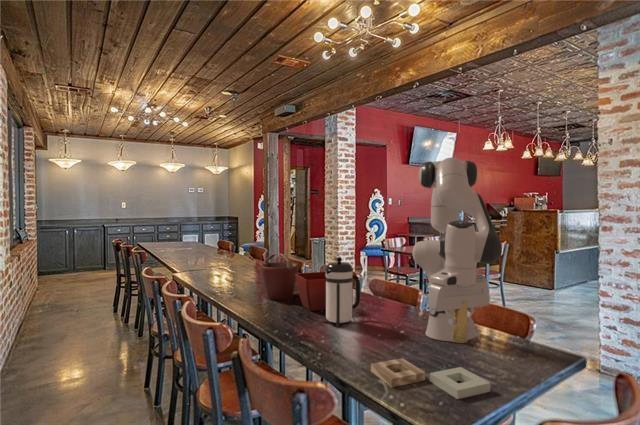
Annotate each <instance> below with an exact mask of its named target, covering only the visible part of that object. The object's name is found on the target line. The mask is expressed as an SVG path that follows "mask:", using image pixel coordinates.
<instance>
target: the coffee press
mask: <svg viewBox="0 0 640 425" xmlns="http://www.w3.org/2000/svg"><path fill="white" fill-rule="evenodd" d="M342 260H343V259H342V257H340V256H338V257H337V258H336V261H334V262H330V263H328V264H327V265H326V266H325V268H324V272H326V277H325V280H326V282H325V310H324V311H325V312H324V313H325V315H324V317H323V318H322V319H323V320H322V322H323V323H326V322H328V321H329V322H331V323H335V324H336V325H335V326H336V328H340V327H341V326H340V324H343V323H349V322H351V323H352V324H354V325H355V324H356V319H355V318H354V317H353V313H354V309H357V308H358V306H359V305H360V302H361V300H360V299H361V283H360V278H359V276H358V275H355V274H353V271H354V268H353V265H351V263H349V262H344V261H342ZM354 281H355V302H354V303H353V282H354ZM325 318H326V320H325ZM324 320H325V321H324ZM352 320H354V321H352Z"/></svg>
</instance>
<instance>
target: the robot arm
mask: <svg viewBox="0 0 640 425" xmlns="http://www.w3.org/2000/svg"><path fill="white" fill-rule="evenodd" d="M478 178H479V170H478V167H477V164H476V163H475V162H474V161H470V160H461V159H459V158H457V157H447V158H444V159H442V160H438V161H431V160H430V161H425V162H423V163H422V164H421V165H420V168H419V170H418V181H419V182H420V185H421V186H422V187H424V188H427V189H431V188H432V194H431V199H430V200H431V202H430V225H431V227H432V229H434V230H436V231H437V232H439V233H440V235H439V237H438V240H433V239H428V240H421V241H416V243H415V244H414V246H413V248H412V253H411V254H412V258H413V260H414V262H415V263H416V264H417V265H418V266H419V267H420V268H421V269H422V270H423V271H424V273H425V276H426V277H427V279H428V287H429V288H428V301H427V302H428V314H429V315H428V319H427V320H428V321H427V326H426V331H425V336H427V337H428V338H430V339H433V340H436V341H445V342H452V343H458V344H459V342H455V341H453V325H454V324H456V323H457V322H456V321H457V319H456V318H454V317H453V313H454V310H455V309H461V307H462V301H467V341H470V340H473V339H476V338H480V337H482V333H481V332H480V331H478V330H476V327H475V326H476V325H475V321H474V320H473V319H472V316H473V314H474V312H475V308H478V307H479V308H481V307H487V306H489V304H490V303H491V302H490V301H491V299H490V289H489V283H488V278H487V277H486V276H485V275H484V274H477V263H479V264H488V265H491V264H494V263H495V262H496V261H498V260H499V259H500V258H501V256H502V251H503V246H502V242H501V238H500V236H499V234H498V232H497V230H495V227H494V224H493V221H492V219H491V217H490V213H489V211H488V209H487V206H486V204H485V202H484V199H483V197H482V196H481V194H479V193H478V192H476V191H475V190H474V189H473V188H472V187H473V186H475V185H476V184H477V183H476V182H477V180H478ZM460 212H463V213H465V214H468V215H470V216H471V217H472V218H473V219H474V222H475V224H476V227H477V230H478V231H476V227H475V225H474V223H472V222H469V221H466V220H460Z"/></svg>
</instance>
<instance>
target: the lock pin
mask: <svg viewBox="0 0 640 425" xmlns="http://www.w3.org/2000/svg"><path fill="white" fill-rule="evenodd" d="M453 317H454V318H456V319H457V321H456V322H457V323H456V324H454V325H453V341H455V342H454V343H457V342H459V343H461V344H462V343H463V344H465V343H467V341H468V340H467V301H462V307H461V309H455V310H454V313H453ZM459 343H458V344H459Z"/></svg>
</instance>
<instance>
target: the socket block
mask: <svg viewBox="0 0 640 425" xmlns="http://www.w3.org/2000/svg"><path fill="white" fill-rule="evenodd" d="M429 382H430V383H431V384H433V385H435V386H436V387H438V388H439V389H441V390H442V391H444V392H446V393H447V394H449V395H450V396H452V397H453V398H455V399H457V400H460V399H465V398H469V397H473V396H477V395H482V394H486V393H489V392H491V382H490V381H488V380H486V379H484V378H482V377H481V376H478V375H477V374H475V373H473V372H471V371H469V370H467V369H465V368H464V367H461V366H459V367H458V366H457V367H454V368H448V369H444V370H438V371H434V372H430V373H429ZM458 382H459V383H458Z"/></svg>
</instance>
